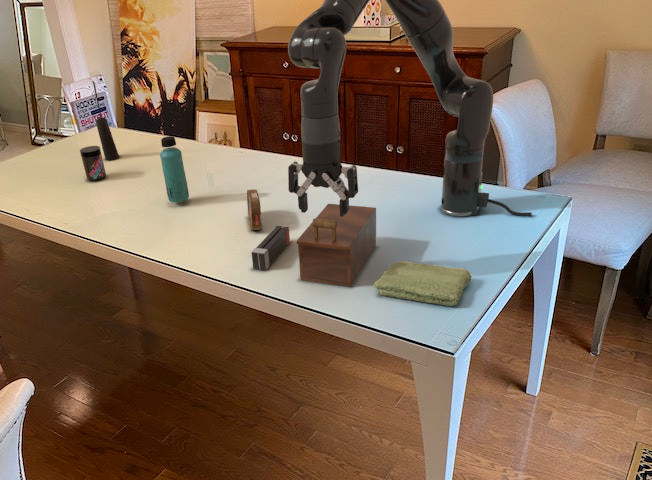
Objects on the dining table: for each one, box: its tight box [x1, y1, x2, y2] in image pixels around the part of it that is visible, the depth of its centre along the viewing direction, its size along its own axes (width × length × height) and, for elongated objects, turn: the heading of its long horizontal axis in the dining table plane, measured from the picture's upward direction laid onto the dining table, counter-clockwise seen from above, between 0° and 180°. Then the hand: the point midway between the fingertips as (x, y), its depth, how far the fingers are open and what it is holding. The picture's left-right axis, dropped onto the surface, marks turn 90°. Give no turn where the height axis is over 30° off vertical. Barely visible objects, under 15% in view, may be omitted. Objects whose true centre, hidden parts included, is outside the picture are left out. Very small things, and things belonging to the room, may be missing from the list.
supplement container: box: [79, 145, 107, 183], centre depth 210 cm, size 7×7×10 cm
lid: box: [295, 203, 377, 250], centre depth 138 cm, size 21×12×5 cm, turn 155°
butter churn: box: [92, 81, 120, 162], centre depth 224 cm, size 9×10×28 cm
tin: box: [246, 189, 262, 231], centre depth 166 cm, size 15×3×8 cm, turn 5°
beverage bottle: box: [159, 135, 190, 203], centre depth 181 cm, size 6×7×20 cm
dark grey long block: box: [251, 225, 291, 272], centre depth 150 cm, size 15×3×5 cm, turn 155°
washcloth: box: [373, 260, 473, 307], centre depth 131 cm, size 13×18×3 cm
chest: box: [297, 211, 377, 288], centre depth 142 cm, size 20×12×9 cm, turn 155°
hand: (323, 213), depth 130 cm, fingers open, 8 cm apart
